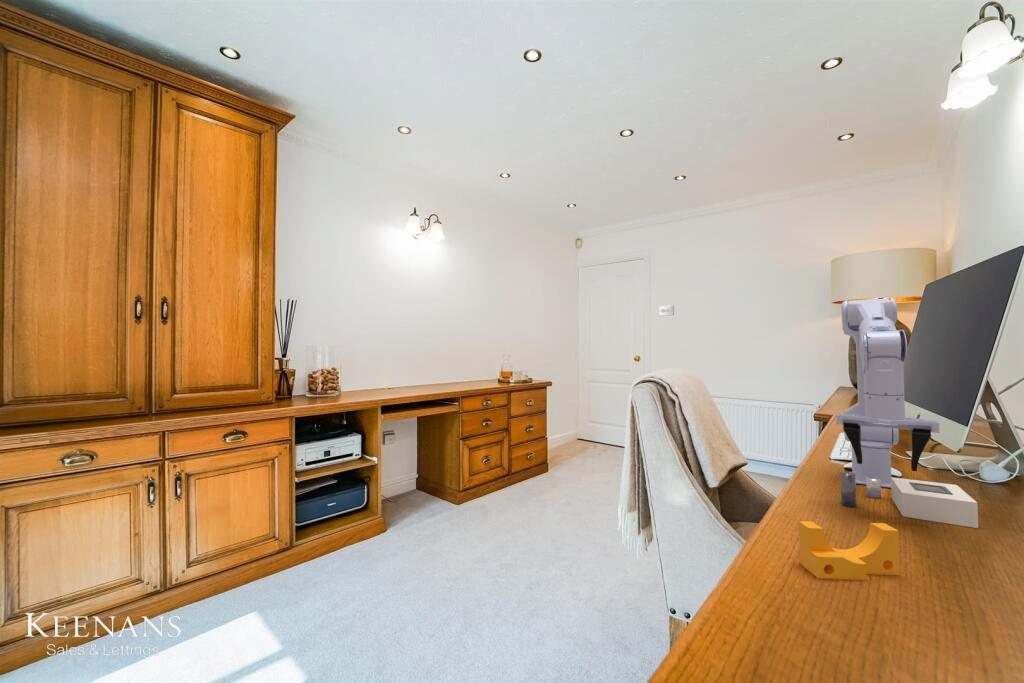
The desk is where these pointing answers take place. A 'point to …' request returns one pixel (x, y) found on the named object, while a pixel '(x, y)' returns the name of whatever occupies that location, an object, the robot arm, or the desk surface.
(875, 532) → the pipe clamp
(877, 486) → the short pin
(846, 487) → the long pin
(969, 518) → the pin block
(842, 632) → the desk surface
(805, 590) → the desk surface
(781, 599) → the desk surface
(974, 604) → the desk surface
